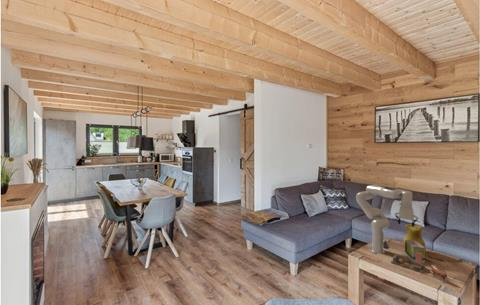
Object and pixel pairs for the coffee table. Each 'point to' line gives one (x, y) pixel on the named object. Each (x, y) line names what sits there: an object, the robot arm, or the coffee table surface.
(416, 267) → the salmon pink rectangular box
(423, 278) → the coffee table surface
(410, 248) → the tea box
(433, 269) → the bull figurine
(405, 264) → the press base
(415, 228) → the pitcher
